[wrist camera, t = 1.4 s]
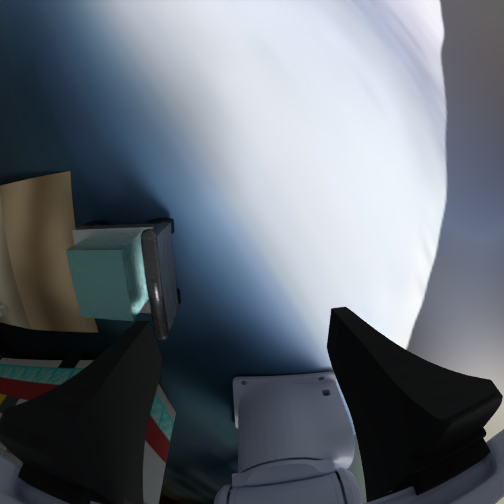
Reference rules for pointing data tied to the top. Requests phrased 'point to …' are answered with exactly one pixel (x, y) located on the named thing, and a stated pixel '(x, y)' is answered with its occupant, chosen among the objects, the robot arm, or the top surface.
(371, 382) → the robot arm
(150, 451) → the toy vehicle
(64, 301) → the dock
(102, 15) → the top surface
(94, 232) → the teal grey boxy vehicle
